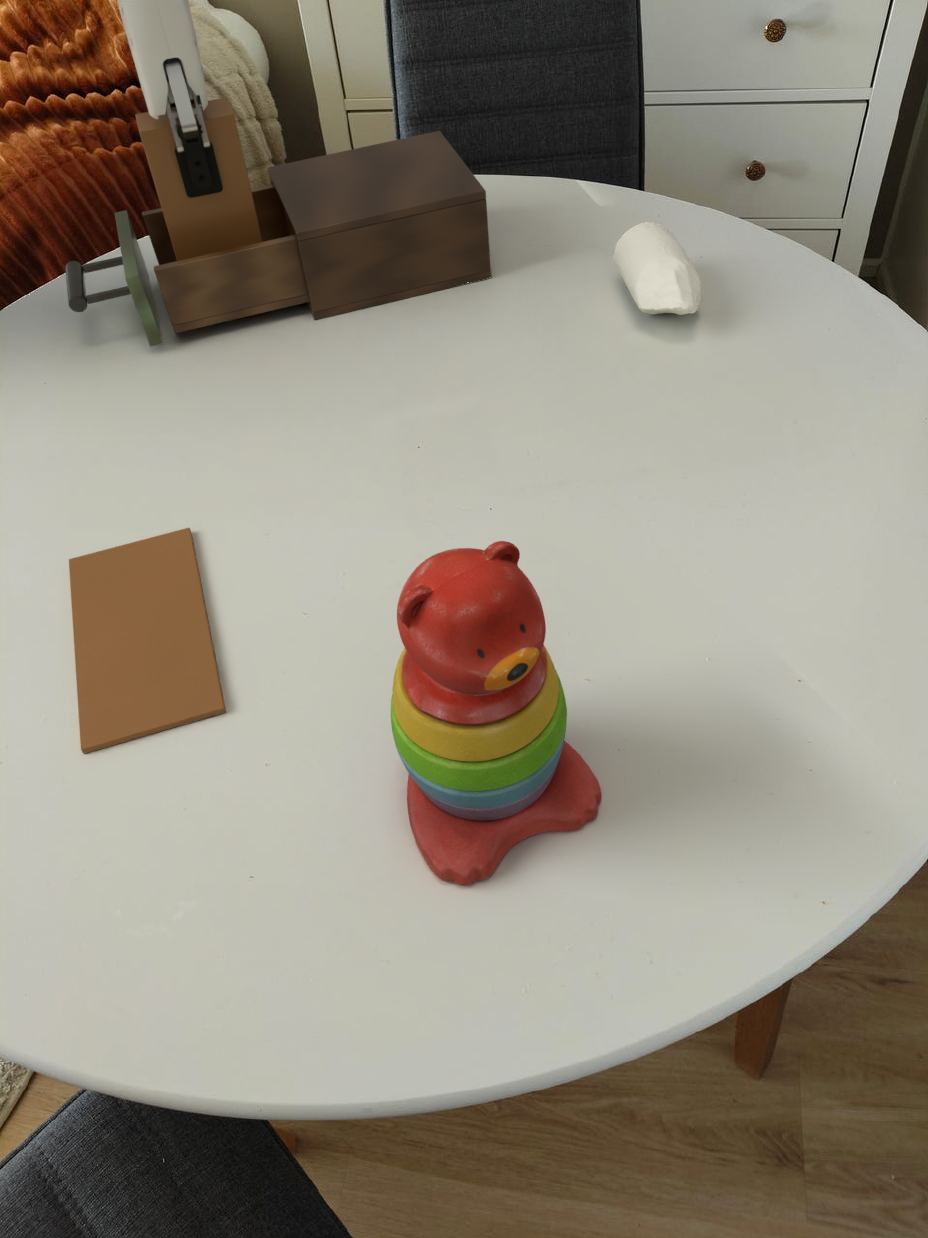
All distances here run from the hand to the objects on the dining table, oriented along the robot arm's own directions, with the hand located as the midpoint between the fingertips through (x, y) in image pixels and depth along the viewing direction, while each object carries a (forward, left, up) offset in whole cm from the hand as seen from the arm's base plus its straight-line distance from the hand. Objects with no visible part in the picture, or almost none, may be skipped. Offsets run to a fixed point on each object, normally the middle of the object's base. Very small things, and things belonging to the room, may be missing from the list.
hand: (201, 180), depth 89 cm
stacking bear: (+57, -24, -12) cm, 63 cm away
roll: (+34, +23, -12) cm, 43 cm away
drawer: (-1, -3, -11) cm, 11 cm away
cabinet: (+7, +14, -12) cm, 19 cm away
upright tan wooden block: (0, 0, -6) cm, 6 cm away
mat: (+31, -31, -12) cm, 45 cm away
